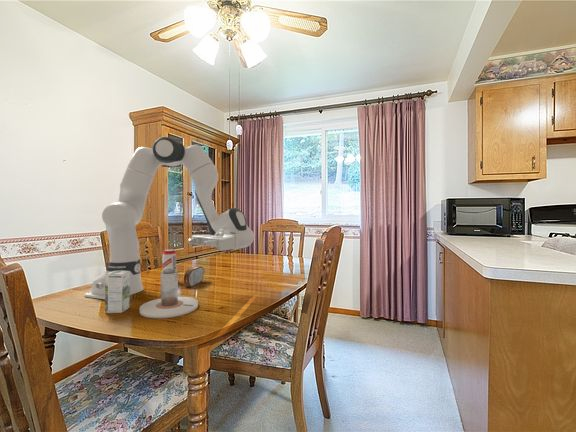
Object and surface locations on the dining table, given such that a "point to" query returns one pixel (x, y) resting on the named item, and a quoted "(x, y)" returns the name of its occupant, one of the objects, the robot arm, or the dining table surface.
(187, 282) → the tin
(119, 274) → the syrup box
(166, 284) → the white drink can
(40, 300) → the dining table surface
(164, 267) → the beer can
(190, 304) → the disc
